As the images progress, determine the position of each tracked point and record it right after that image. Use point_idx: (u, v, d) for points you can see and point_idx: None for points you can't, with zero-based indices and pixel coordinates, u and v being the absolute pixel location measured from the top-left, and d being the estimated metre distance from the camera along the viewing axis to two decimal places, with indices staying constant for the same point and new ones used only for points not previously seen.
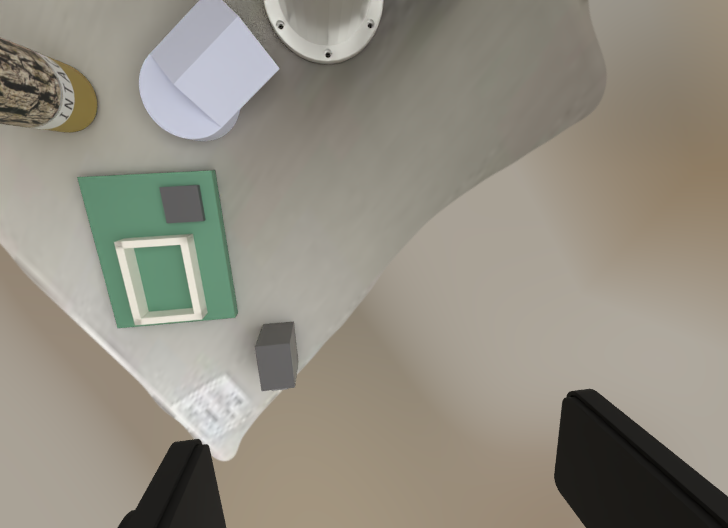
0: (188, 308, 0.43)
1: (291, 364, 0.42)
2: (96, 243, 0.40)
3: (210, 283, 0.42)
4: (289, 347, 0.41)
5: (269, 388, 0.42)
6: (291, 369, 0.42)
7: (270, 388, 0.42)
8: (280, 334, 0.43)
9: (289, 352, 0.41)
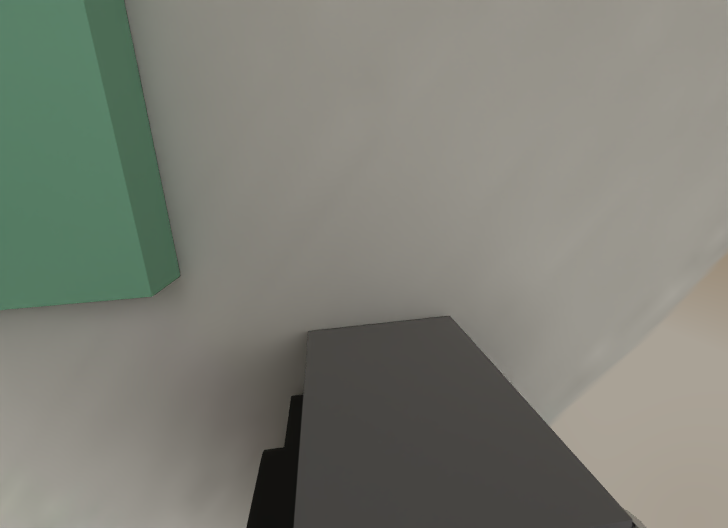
0: None
1: None
2: None
3: None
4: None
5: None
6: None
7: None
8: (443, 395, 0.06)
9: None
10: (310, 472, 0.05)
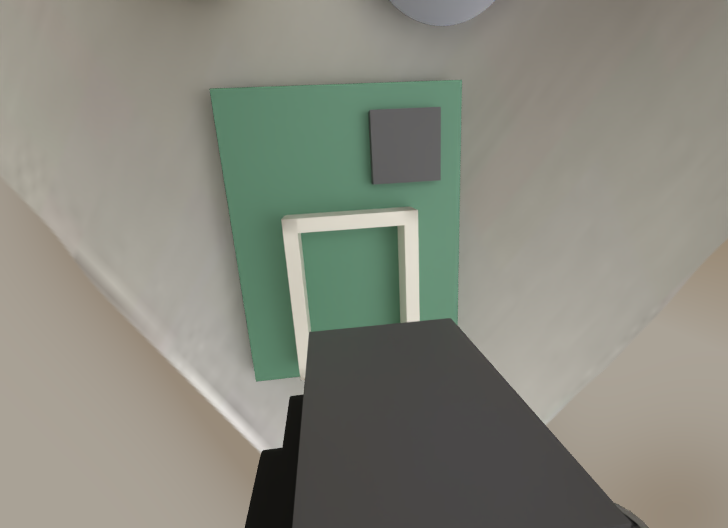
0: None
1: None
2: (233, 224, 0.21)
3: (425, 299, 0.23)
4: None
5: None
6: None
7: None
8: (443, 397, 0.06)
9: None
10: (309, 471, 0.05)
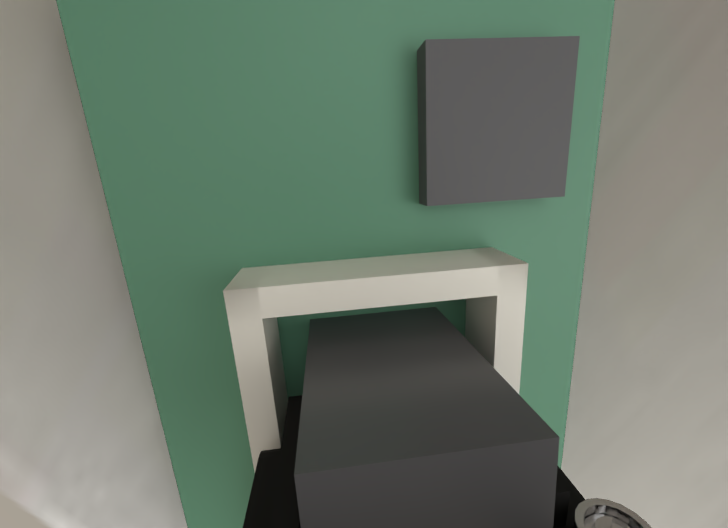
0: None
1: None
2: (134, 289, 0.10)
3: None
4: (554, 465, 0.05)
5: None
6: None
7: None
8: (422, 362, 0.08)
9: (546, 502, 0.06)
10: (310, 412, 0.06)
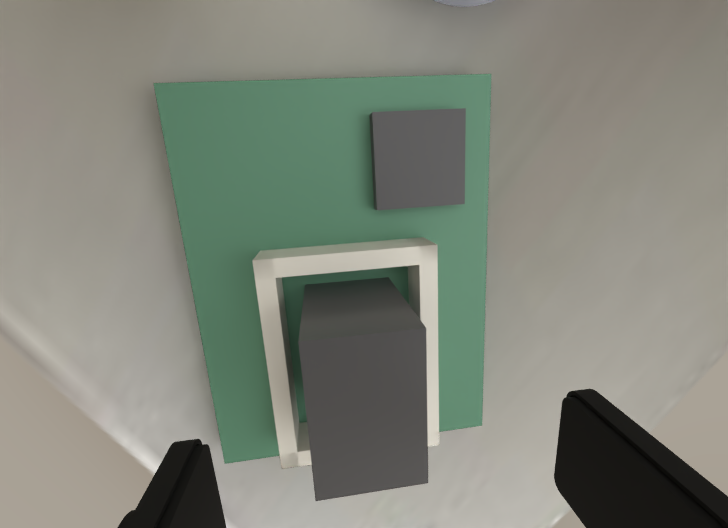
0: None
1: (423, 405, 0.12)
2: (191, 264, 0.15)
3: (443, 353, 0.18)
4: (424, 342, 0.11)
5: (343, 490, 0.12)
6: (422, 423, 0.12)
7: (346, 490, 0.12)
8: (370, 303, 0.13)
9: (421, 362, 0.11)
10: (305, 323, 0.12)
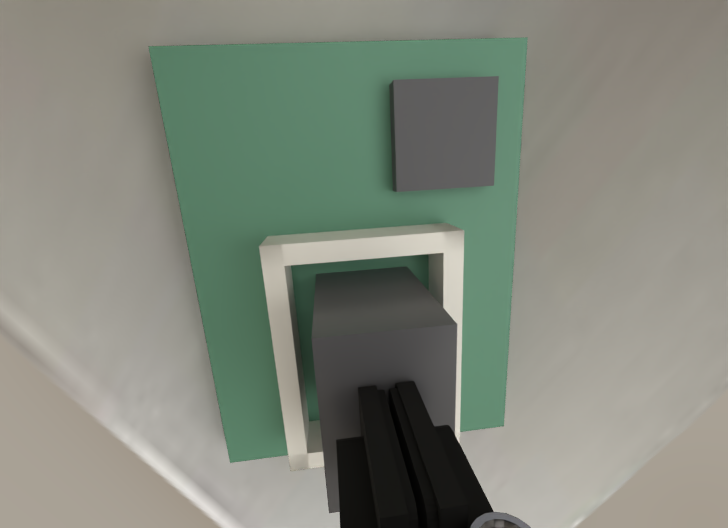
0: None
1: (451, 410, 0.10)
2: (192, 250, 0.14)
3: (464, 349, 0.17)
4: (455, 340, 0.10)
5: None
6: None
7: None
8: (390, 295, 0.12)
9: (451, 362, 0.10)
10: (319, 316, 0.10)
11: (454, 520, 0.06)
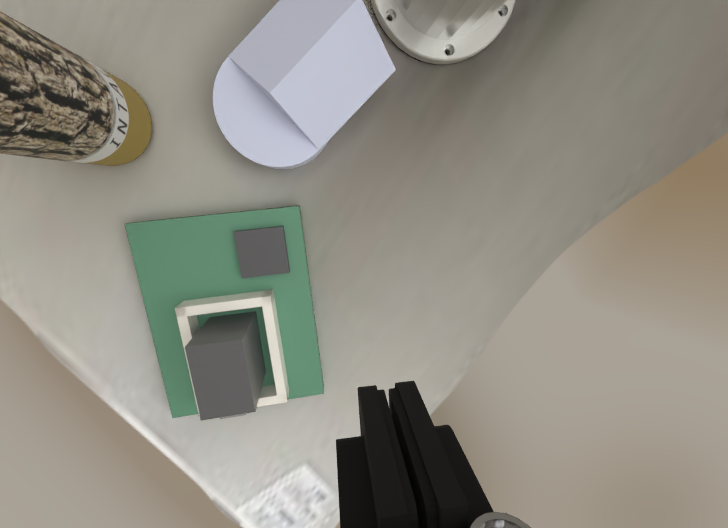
0: (264, 386, 0.32)
1: (247, 374, 0.26)
2: (147, 309, 0.30)
3: (293, 351, 0.32)
4: (242, 345, 0.25)
5: (213, 415, 0.26)
6: (247, 382, 0.26)
7: (215, 415, 0.26)
8: (231, 327, 0.28)
9: (242, 354, 0.25)
10: (193, 338, 0.26)
11: (454, 520, 0.06)
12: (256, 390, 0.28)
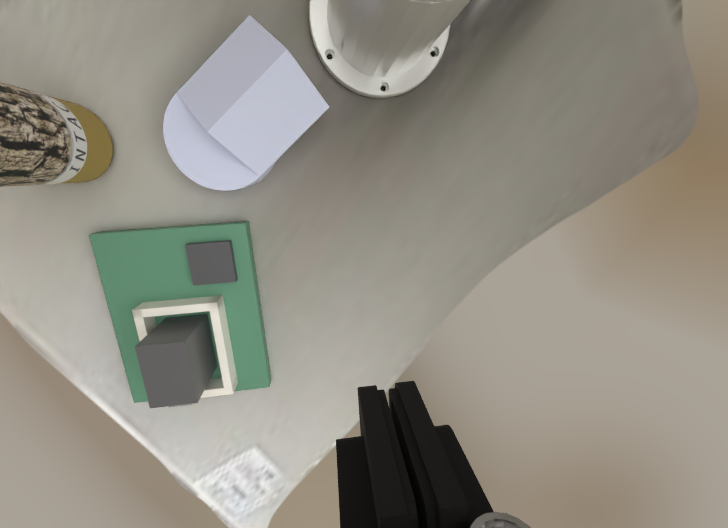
0: (215, 379, 0.37)
1: (190, 371, 0.30)
2: (110, 308, 0.34)
3: (241, 350, 0.36)
4: (185, 346, 0.29)
5: (161, 404, 0.30)
6: (190, 378, 0.30)
7: (162, 404, 0.30)
8: (180, 329, 0.32)
9: (185, 354, 0.29)
10: (145, 338, 0.30)
11: (454, 520, 0.06)
12: (201, 384, 0.32)
